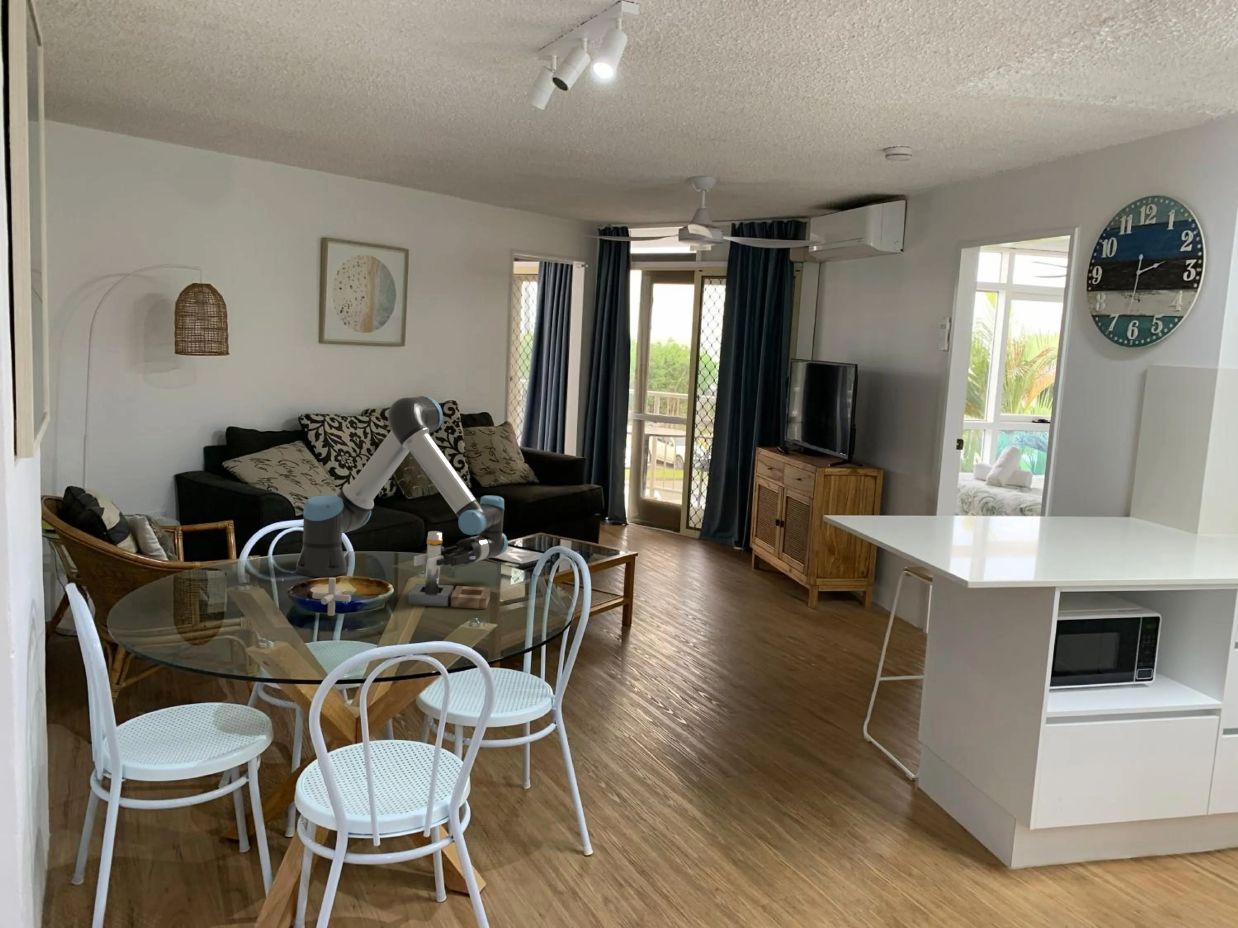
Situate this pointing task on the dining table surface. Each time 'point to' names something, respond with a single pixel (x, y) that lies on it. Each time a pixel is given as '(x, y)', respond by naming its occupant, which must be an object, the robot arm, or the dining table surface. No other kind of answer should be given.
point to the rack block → (470, 597)
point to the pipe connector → (331, 596)
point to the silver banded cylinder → (433, 551)
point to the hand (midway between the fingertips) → (421, 562)
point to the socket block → (430, 596)
